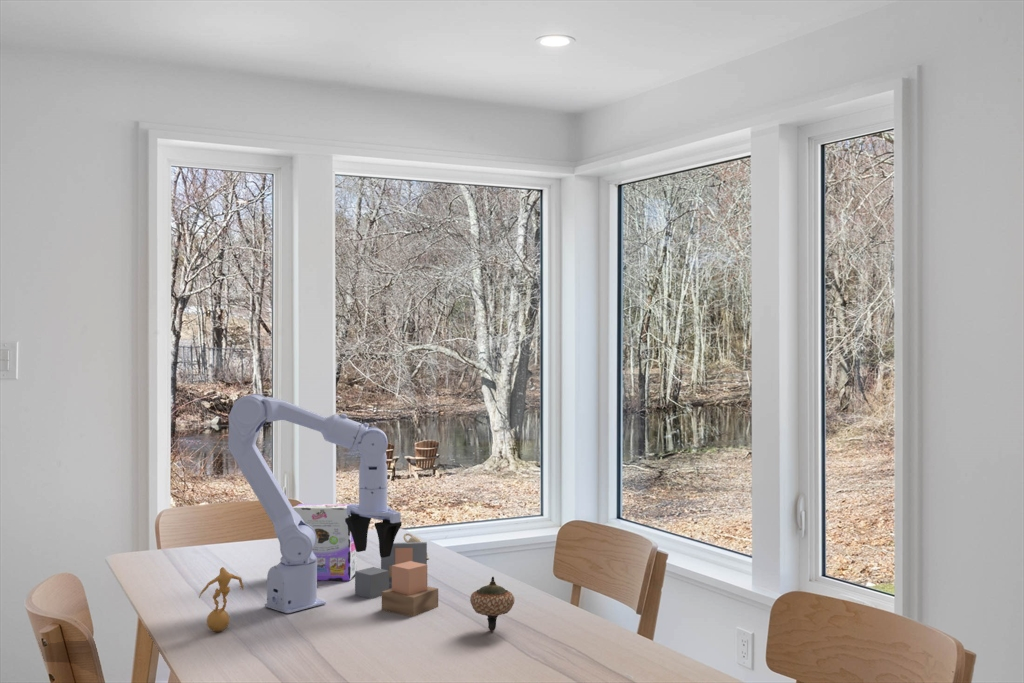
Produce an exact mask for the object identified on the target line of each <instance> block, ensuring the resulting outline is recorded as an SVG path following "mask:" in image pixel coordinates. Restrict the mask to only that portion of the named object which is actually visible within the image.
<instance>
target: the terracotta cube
mask: <svg viewBox="0 0 1024 683" xmlns="http://www.w3.org/2000/svg"><path fill="white" fill-rule="evenodd" d="M427 587H428V564H427V565H426V564H422V563H417V562H413V561H409V562H404V563H400V564H396V565H392V591H395V592H399V593H403V594H407V595H411V594H414V593H418V592H421V591H425V590H427Z"/></svg>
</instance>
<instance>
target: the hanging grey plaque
mask: <svg viewBox="0 0 1024 683" xmlns="http://www.w3.org/2000/svg"><path fill="white" fill-rule="evenodd" d="M427 555H428V542H427V541H422V542H394V543H393V546H392V550H391V554H390V556H389V557H384V558H382V557H380V569H384V570H388V571H389V589H391V588H392V565H396V564H400V563H404V562H409V561H413V562H417V563H422V564H426V565H427V566H428V563H427V560H428V559H427Z"/></svg>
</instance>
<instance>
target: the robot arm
mask: <svg viewBox="0 0 1024 683" xmlns="http://www.w3.org/2000/svg"><path fill="white" fill-rule="evenodd" d="M227 418H228V439H227V440H228V441H227V442H228V443H227V448H228V449H229V452H230V454H231V456H232V457H233V459H234V460H235V462H236V464H237V465H238V468H239V469H240V471H241V473H242V474H243V476H244V477H245V479H246V481H247V482H248V485H249V487H250V488H251V489H252V491H253V493H254V494H255V496H256V498H257V499H258V502H259V503H260V504H261V506H262V508H263V509H264V511H265V513H266V514H267V517H268V518H269V519H270V521H271V523H272V524H273V530H274V533H275V537H276V538H277V540H278V542H279V549H280V551H279V552H280V554H281V557H280V562H279V563H278V564H276V565H274V566H271V567H270V568H269V569H268V572H267V576H266V603H265V604H264V607H266V608H269V609H272V610H275V611H278V612H280V613H285V614H291V613H294V612H295V613H296V612H298V611H303V610H306V609H310V608H314V607H317V606H322V605H325V604H326V603H327V601H326V600H323V599H319V598H318V594H317V592H318V589H317V588H318V584H317V583H318V580H317V557H316V556H315V555H314V553H313V551H312V549H313V548H314V546H315V544H316V541H317V536H316V532H315V530H314V529H313V528H312V527H311V526H309V525H308V524H306V523H305V522H304V521H303V519H302V518H301V516H300V515H299V514H298V513H297V512H296V511H295V510H294V509H293V507H294V506H292V503H291V501H290V500H289V499H288V497H287V495H286V494H285V492H284V489H282V486H281V485H280V483H279V481H278V480H277V479H276V477H275V475H274V473H273V472H272V469H271V468H270V466H269V465H268V462H267V461H266V460H265V458H264V456H263V454H262V453H261V451H260V449H259V448H258V446H257V445H256V443H257V441H258V438H259V435H260V431H261V429H262V428H263V425H264V424H265V423H271V422H277V421H286V422H289V423H292V424H295V425H299V426H302V427H303V428H304V427H305V428H308V429H310V430H313V431H317V432H320V433H321V435H322V437H323V439H324V441H326V442H329V443H331V444H334V445H337V446H340V447H342V448H346V449H348V450H350V451H357V450H358V452H359V453H360V464H359V466H358V473H359V474H358V504H356V503H355V504H356V505H355V504H353V505H347V515H351V516H350V517H349V518H345V522H346V524H347V525H348V527H349V529H350V531H351V534H352V537H353V541H354V545H355V549H356V553H361V552H366V550H367V546H368V535H369V534H368V532H369V527H370V522H371V520H372V519H373V520H379V522H375V523H374V527H375V529H376V533H377V538H378V548H379V556H380V558H381V557H382V558H384V557H389V556H390V554H391V550H392V546H393V543H395V539H396V537H397V534H398V532H399V531H400V528H401V527H402V521H401V514H402V513H401V512H400V511H396V510H393V509H391V506H388V464H387V461H388V456H387V450H388V446H389V444H388V441H389V440H388V437H387V434H386V433H385V432H384V431H383V430H382V429H380V428H378V427H377V426H371V427H370V423H368V422H364V423H361V422H358V421H355V420H353V419H350V418H348V415H347V414H345V413H341V414H340V415H339V414H338V413H333V414H332V415H329V416H328V417H327V416H323V415H321V414H320V413H319V414H318V413H315V412H314V411H311V410H308V409H306V408H304V407H301V406H299V405H296V404H294V403H291V402H289V401H286V400H283V399H280V398H276V397H272V396H267V397H266V396H265V395H263V394H261V393H251V394H249V395H243V396H241V397H239V398H238V399H236V401H235V402H234V403H233V406H232V407H231V409H230V412H229V414H228V417H227ZM380 521H381V522H380Z"/></svg>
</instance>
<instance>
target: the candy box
mask: <svg viewBox="0 0 1024 683" xmlns="http://www.w3.org/2000/svg"><path fill="white" fill-rule="evenodd" d="M347 505H353V504H347V503H342V504H341V503H339V504H338V503H298V504H297V505H294V506H292V507H293V509H294V510H295V511H296V512H297V513H298V514H299V515H300V516H301V518H302V519H303V521H304V522H305V523H306V524H308V525H309V526H311V527H312V528H313V529H314V530H315V532H316V536H317V541H316V544H315V546H314V548H313V549H312V551H313V553H314V555H315V556H316V557H317V581H351V580H352V579H353V578H355V571H357V552H356V549H355V545H354V541H353V537H352V534H351V531H350V529H349V527H348V525H347V524H346V522H345V518H349V517H350V516H351V515H347ZM355 505H357V504H356V503H355Z"/></svg>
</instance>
